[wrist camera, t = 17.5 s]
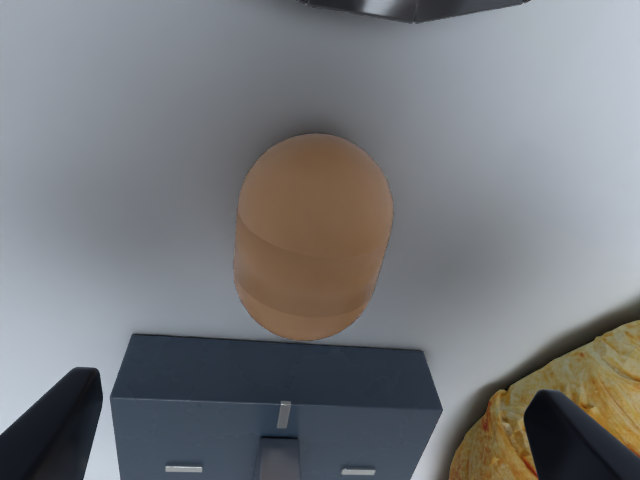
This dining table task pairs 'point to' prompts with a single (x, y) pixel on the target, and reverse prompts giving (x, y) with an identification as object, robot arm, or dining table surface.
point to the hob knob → (278, 459)
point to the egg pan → (411, 8)
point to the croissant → (578, 385)
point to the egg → (311, 235)
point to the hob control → (269, 408)
